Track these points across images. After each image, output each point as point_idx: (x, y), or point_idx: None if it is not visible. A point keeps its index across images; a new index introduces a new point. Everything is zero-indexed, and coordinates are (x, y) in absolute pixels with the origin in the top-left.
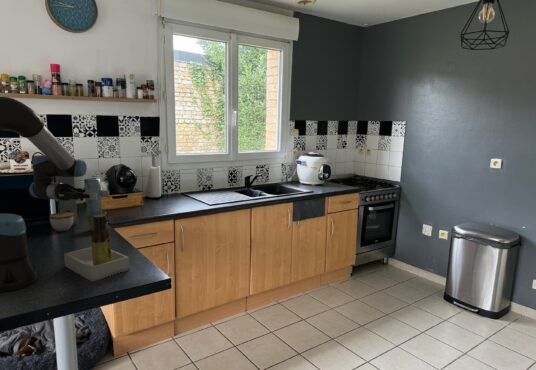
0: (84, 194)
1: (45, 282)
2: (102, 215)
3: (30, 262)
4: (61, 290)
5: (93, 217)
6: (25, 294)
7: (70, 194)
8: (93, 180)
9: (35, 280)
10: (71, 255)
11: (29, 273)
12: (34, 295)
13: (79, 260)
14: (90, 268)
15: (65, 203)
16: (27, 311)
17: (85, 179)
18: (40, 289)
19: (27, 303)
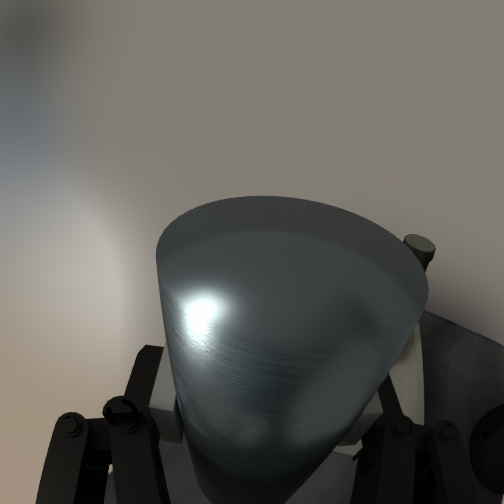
0: (387, 389)
1: (463, 408)
2: (412, 238)
3: (500, 425)
4: (452, 358)
5: (435, 249)
6: (492, 387)
7: (465, 500)
8: (344, 215)
9: (475, 427)
10: (417, 415)
11: (496, 407)
12: (483, 374)
13: (419, 370)
14: (418, 326)
15: None
16: (492, 341)
17: (399, 302)
18: (474, 387)
19: (492, 359)
